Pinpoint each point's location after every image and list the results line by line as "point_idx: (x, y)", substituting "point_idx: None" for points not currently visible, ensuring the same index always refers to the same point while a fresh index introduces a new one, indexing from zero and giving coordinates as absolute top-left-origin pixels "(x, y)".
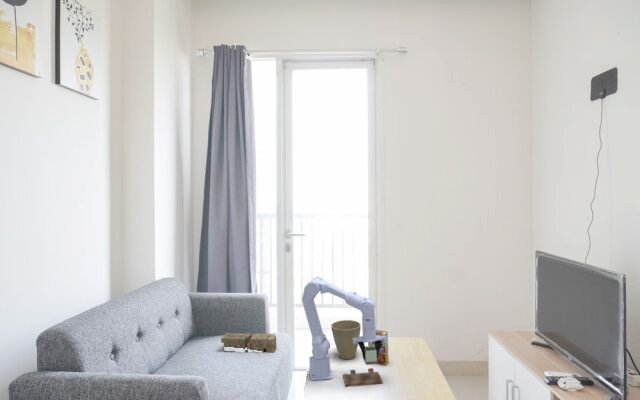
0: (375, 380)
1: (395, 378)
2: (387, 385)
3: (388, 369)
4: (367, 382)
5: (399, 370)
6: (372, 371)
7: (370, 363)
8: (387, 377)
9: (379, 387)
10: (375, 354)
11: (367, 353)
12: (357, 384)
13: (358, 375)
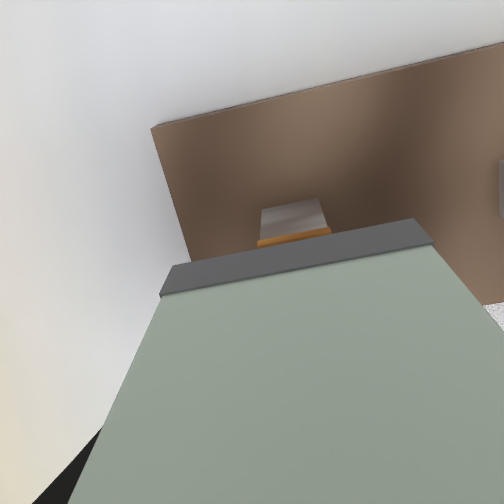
0: (240, 148)
1: (29, 253)
2: (94, 83)
3: None
4: (346, 86)
5: (19, 401)
6: (275, 237)
7: (313, 245)
8: (116, 270)
9: (188, 20)
10: (146, 410)
11: (466, 409)
12: (485, 48)
13: (448, 262)
